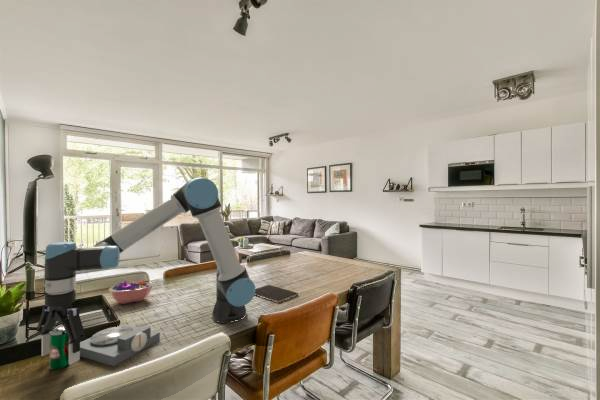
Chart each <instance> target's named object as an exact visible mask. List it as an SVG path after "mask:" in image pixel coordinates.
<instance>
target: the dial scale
mask: <svg viewBox="0 0 600 400" xmlns="http://www.w3.org/2000/svg"><path fill="white" fill-rule="evenodd" d="M118 325H119V326H128V327H131V328H133V331H131V332H129V333H127V334H125V335H123V336H121V337H119V338H118V342H117V343H116V344H112V345H107V346H95V345H92V344H91V343H90V339H91V337H89V338H85V340H84V339H83V340H81V341H80V358H85V359H87V360H91V361H95V362H97V363H100V364H101V363H102V364H105V365H109V366H111V367H115V366H117V365H118V364H119V365H120V363H122V362H124V361H126V360H128V359H130V358H131V357H133V356H134V355H136V354H138V353H139V352H142V351H144V350H146V349H147V348H149V347H150V346H152V345H154V344H155V343H157V342H159V341H160V339H161V338H160V337H161V333H160V331H155V330H152V329H151V326H146V325H141V326H140V327H138V326H135V325H134V326H133V325H128V324H124V323H121V324H118Z"/></svg>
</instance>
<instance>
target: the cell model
mask: <svg viewBox="0 0 600 400" xmlns="http://www.w3.org/2000/svg"><path fill="white" fill-rule="evenodd" d="M152 288H153V283H150V282H147V281H131V282H128V281H127V280H122V281H120V282H119V283H118V284H116V285H112V286H111V287H109V288H108V291H109V293H110V296H111V298H112V299H114V301H116V302H117V303H119V304H121V305H122V304H123V305H124V304H125V303H126V304H130V303H134V302H139V303H140V302H142V301H143V300H145V299H146V297H148V296H149V295H150V292H151V290H152Z"/></svg>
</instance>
